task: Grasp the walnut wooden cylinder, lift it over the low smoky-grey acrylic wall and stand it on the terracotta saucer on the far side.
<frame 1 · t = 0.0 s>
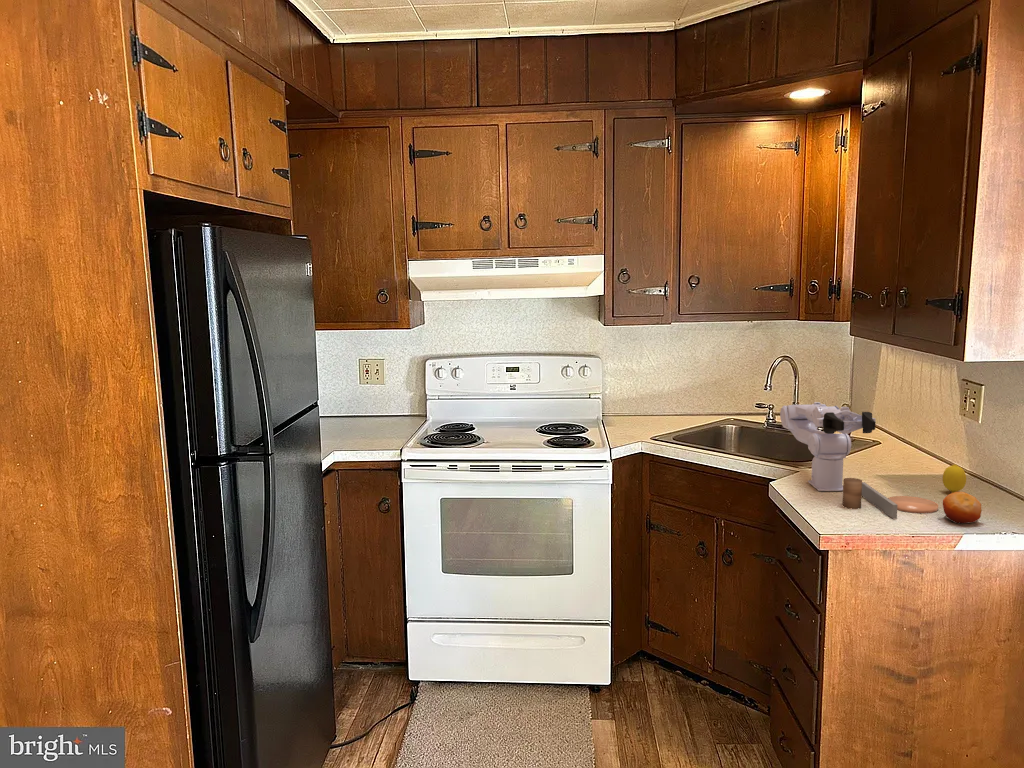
hand: (858, 425, 186), 22 cm above the countertop, tool horizontal, fingers open, 7 cm apart
lemon: (953, 493, 200), on the countertop
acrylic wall: (877, 506, 190), on the countertop
walnut cylinder: (851, 506, 191), on the countertop
fruit: (960, 522, 178), on the countertop
saucer: (911, 505, 190), on the countertop
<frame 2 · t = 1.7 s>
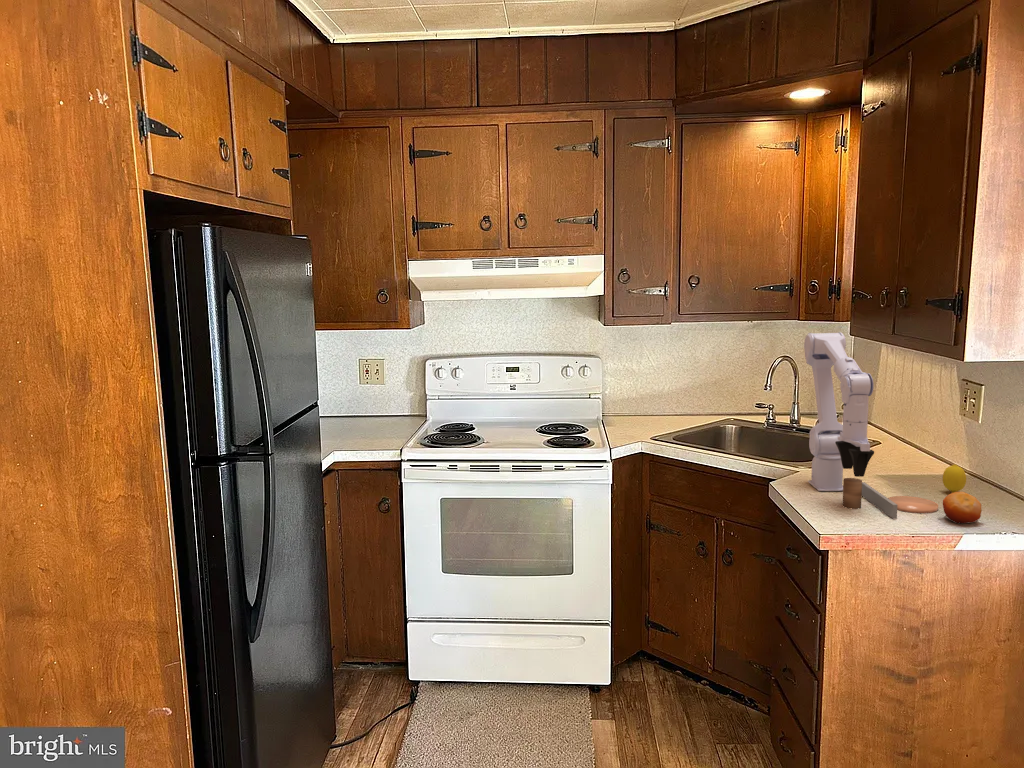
hand: (853, 472, 190), 9 cm above the countertop, tool pointing down, fingers open, 7 cm apart
nothing on the countertop moved.
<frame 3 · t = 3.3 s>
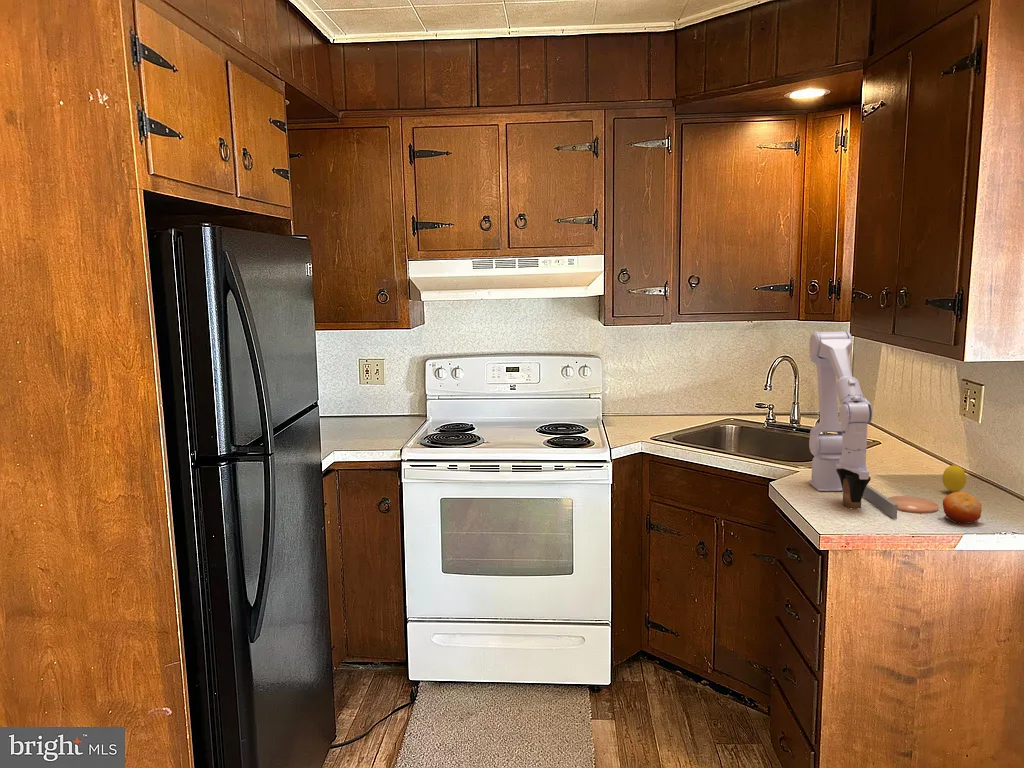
hand: (852, 499, 191), 2 cm above the countertop, tool pointing down, fingers closed on walnut cylinder, 4 cm apart
walnut cylinder: (851, 506, 191), on the countertop, touching gripper
everything else where it was.
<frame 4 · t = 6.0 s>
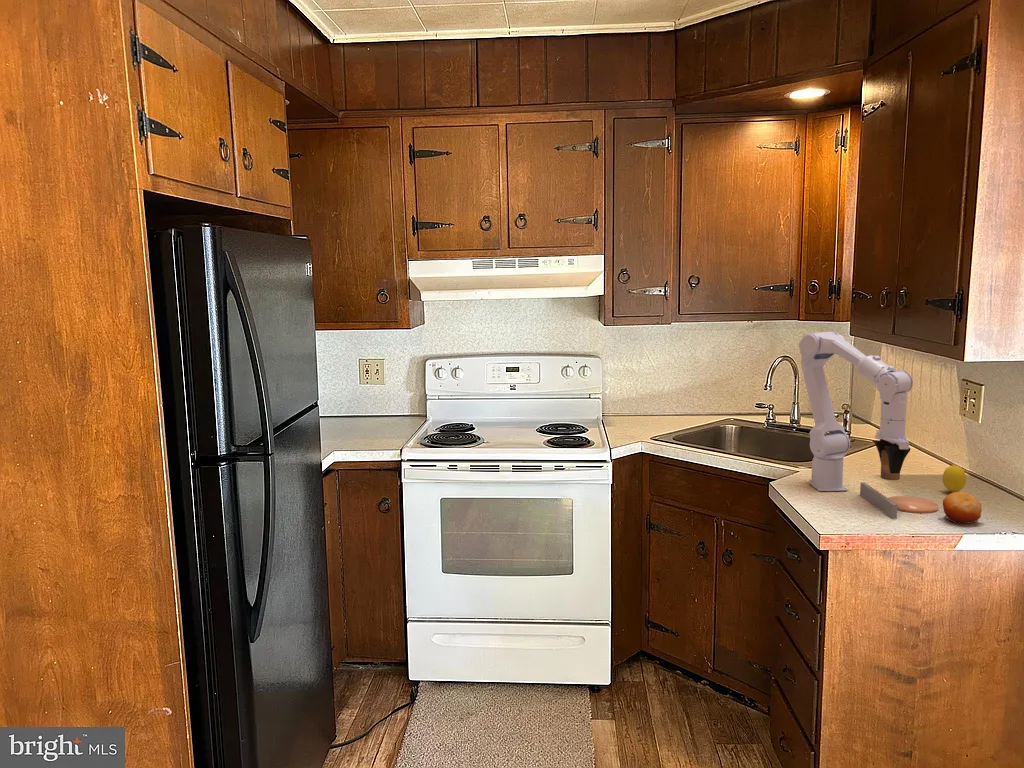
hand: (890, 470, 189), 9 cm above the countertop, tool pointing down, fingers closed on walnut cylinder, 4 cm apart
walnut cylinder: (890, 477, 189), point 8 cm above the countertop, touching gripper
everything else where it was.
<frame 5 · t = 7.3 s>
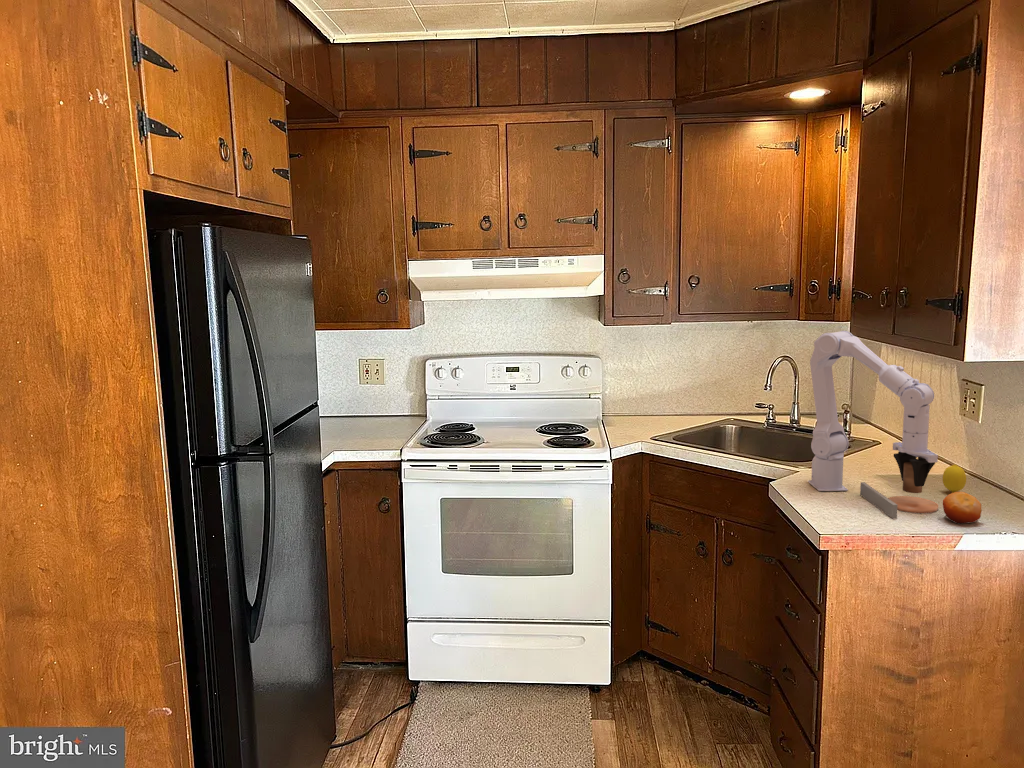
hand: (912, 483, 189), 6 cm above the countertop, tool pointing down, fingers closed on walnut cylinder, 4 cm apart
walnut cylinder: (912, 490, 189), point 4 cm above the countertop, touching gripper
everything else where it was.
when the fingers open (4 cm above the countertop, at t = 8.6 s): walnut cylinder drops 1 cm, resting on saucer.
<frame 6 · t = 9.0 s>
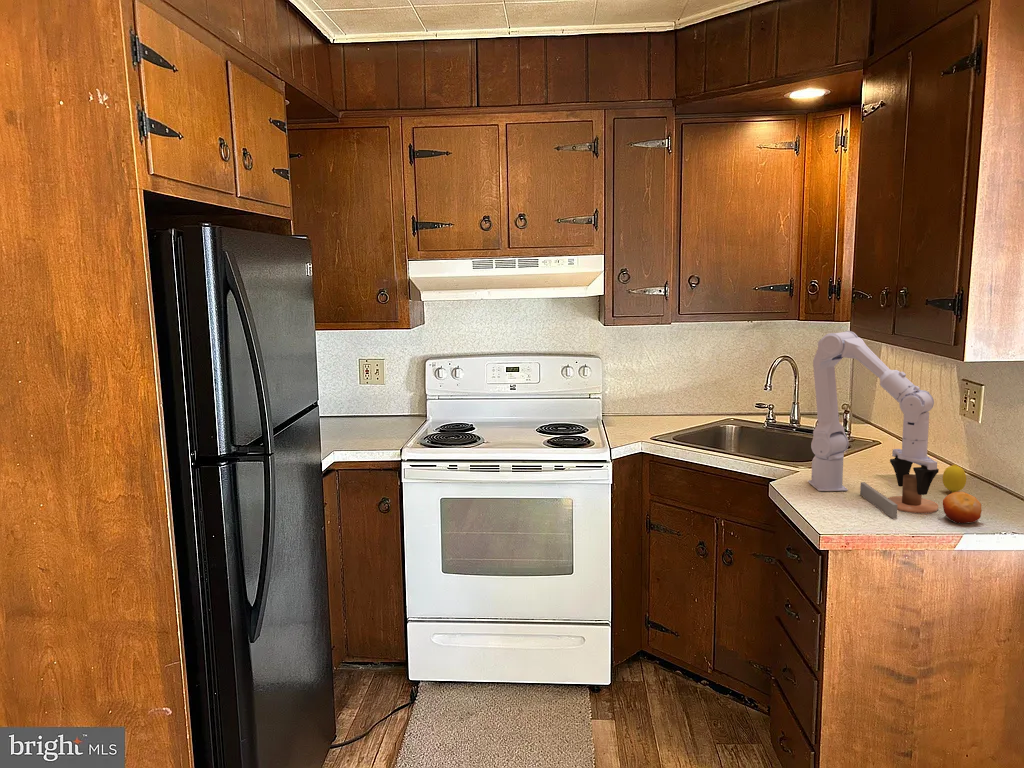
hand: (912, 490, 189), 4 cm above the countertop, tool pointing down, fingers open, 7 cm apart
walnut cylinder: (911, 502, 190), point 1 cm above the countertop, touching saucer
everything else where it was.
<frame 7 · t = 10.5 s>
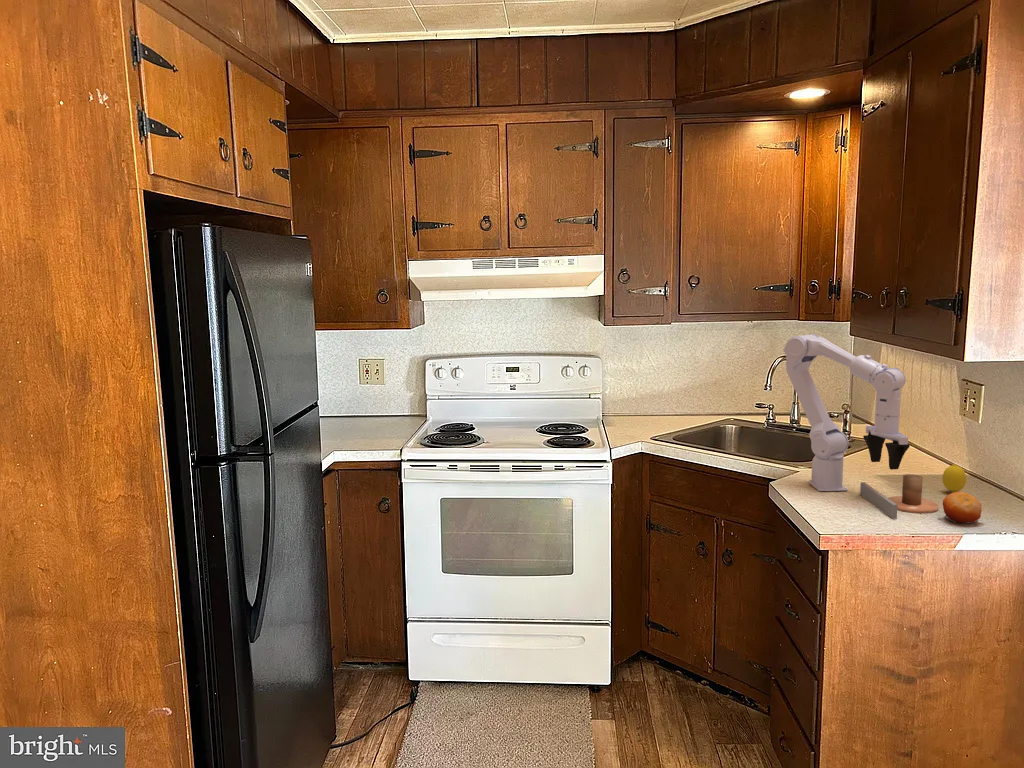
hand: (884, 465, 194), 9 cm above the countertop, tool pointing down, fingers open, 7 cm apart
nothing on the countertop moved.
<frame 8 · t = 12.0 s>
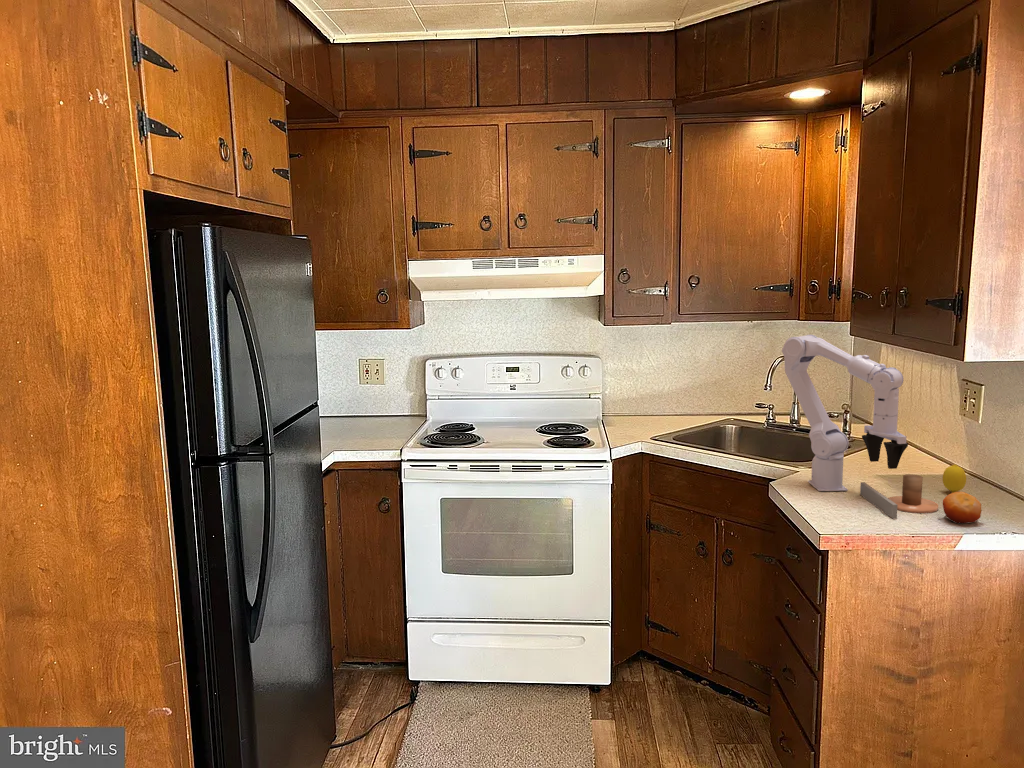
hand: (883, 464, 195), 9 cm above the countertop, tool pointing down, fingers open, 7 cm apart
nothing on the countertop moved.
at the end: walnut cylinder 0.0 cm from the saucer (horizontally); walnut cylinder touching saucer; walnut cylinder tilted 0° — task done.
